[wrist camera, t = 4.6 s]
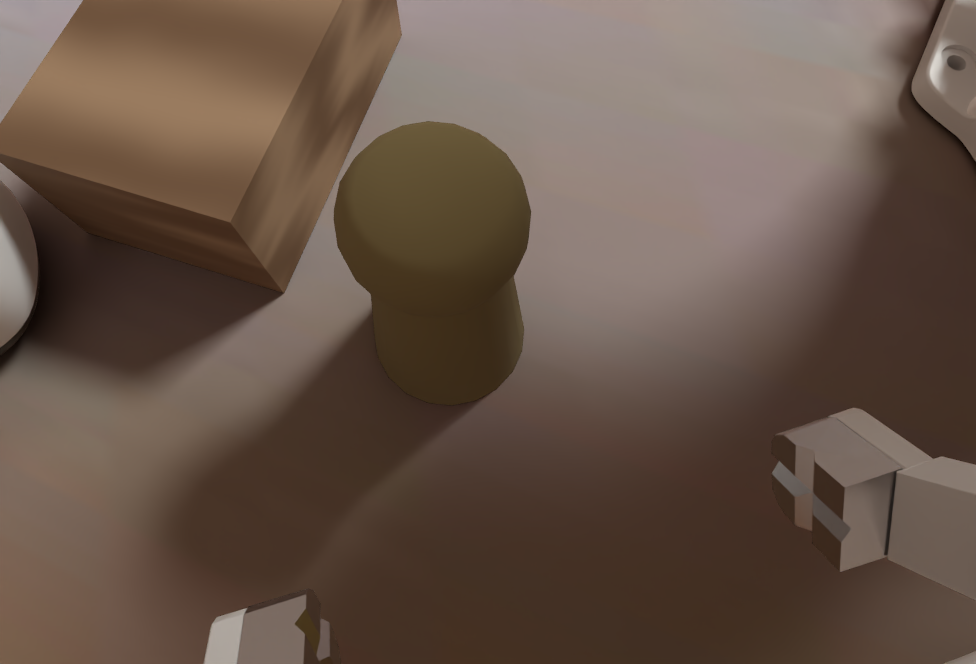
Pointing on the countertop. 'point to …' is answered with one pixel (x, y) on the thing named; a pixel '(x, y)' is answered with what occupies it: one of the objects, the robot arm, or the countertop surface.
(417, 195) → the cork
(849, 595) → the countertop surface
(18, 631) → the countertop surface
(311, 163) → the wooden block
